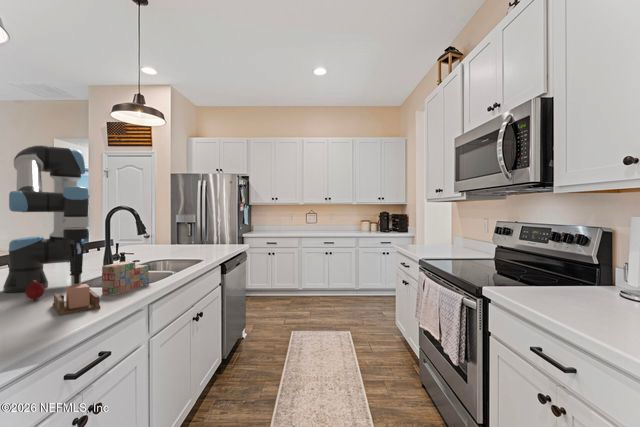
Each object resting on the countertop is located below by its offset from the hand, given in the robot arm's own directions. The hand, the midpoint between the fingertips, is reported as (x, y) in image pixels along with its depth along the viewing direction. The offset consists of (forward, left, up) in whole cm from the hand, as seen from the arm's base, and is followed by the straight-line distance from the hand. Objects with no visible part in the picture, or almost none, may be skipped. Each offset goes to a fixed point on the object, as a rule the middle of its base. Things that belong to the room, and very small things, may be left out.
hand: (76, 292), depth 123 cm
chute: (0, 0, -6) cm, 6 cm away
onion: (-22, -10, -6) cm, 25 cm away
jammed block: (+4, 0, -4) cm, 6 cm away
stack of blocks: (-19, +22, -6) cm, 30 cm away
